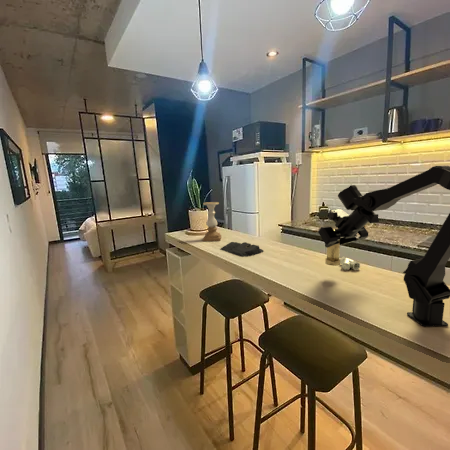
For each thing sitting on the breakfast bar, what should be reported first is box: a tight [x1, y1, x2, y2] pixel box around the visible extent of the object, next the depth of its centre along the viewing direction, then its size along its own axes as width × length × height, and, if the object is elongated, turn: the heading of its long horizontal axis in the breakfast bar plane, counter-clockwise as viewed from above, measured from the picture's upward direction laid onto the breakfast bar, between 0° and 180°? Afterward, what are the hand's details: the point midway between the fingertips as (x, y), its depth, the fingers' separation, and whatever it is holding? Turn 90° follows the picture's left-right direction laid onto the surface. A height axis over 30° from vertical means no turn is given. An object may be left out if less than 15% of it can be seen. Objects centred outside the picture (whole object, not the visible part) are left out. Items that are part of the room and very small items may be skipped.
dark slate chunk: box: [219, 241, 264, 258], centre depth 143 cm, size 15×22×5 cm
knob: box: [325, 227, 341, 267], centre depth 99 cm, size 5×5×13 cm
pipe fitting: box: [339, 256, 361, 271], centre depth 112 cm, size 8×4×7 cm
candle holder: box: [202, 201, 222, 242], centre depth 170 cm, size 11×11×24 cm
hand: (330, 245), depth 100 cm, fingers closed on knob, 4 cm apart
